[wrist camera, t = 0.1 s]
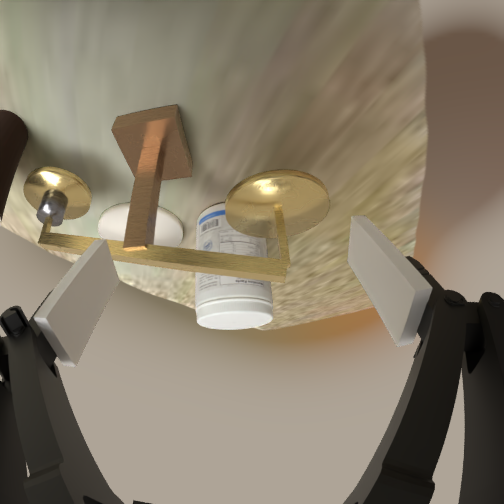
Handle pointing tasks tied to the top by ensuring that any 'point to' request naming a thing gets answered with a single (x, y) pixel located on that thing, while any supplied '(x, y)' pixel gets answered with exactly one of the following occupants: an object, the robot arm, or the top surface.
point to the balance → (147, 196)
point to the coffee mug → (10, 151)
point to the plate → (116, 220)
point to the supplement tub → (230, 278)
